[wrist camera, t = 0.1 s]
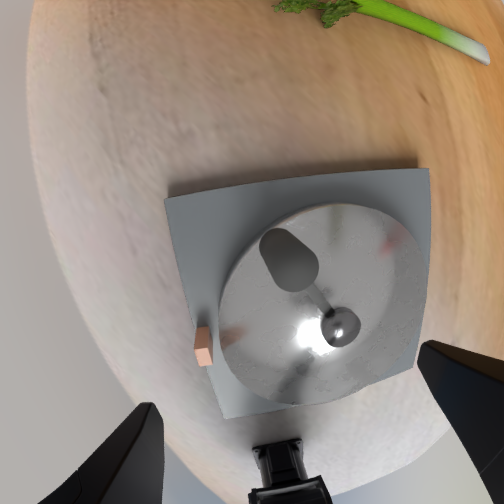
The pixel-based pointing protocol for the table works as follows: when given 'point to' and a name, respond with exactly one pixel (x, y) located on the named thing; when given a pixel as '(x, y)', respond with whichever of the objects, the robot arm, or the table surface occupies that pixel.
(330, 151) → the table surface
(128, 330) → the table surface
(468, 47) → the leek
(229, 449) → the table surface
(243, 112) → the table surface
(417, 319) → the dial
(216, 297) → the stand
